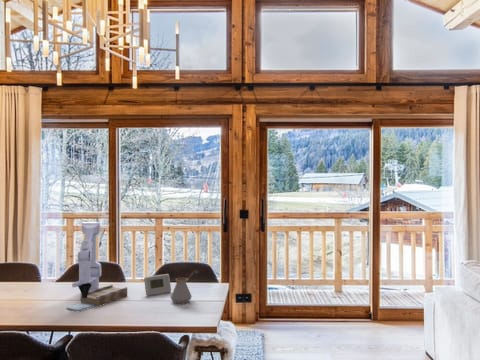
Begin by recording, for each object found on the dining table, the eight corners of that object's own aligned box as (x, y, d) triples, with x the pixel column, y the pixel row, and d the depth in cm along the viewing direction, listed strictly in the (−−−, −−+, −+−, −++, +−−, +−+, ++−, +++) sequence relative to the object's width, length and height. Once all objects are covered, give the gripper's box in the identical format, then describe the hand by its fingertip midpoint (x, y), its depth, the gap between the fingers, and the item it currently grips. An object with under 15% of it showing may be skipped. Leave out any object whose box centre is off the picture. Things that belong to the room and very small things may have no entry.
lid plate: (82, 305, 214) (82, 302, 214) (94, 307, 210) (94, 304, 210) (66, 310, 205) (66, 307, 205) (78, 312, 201) (78, 310, 201)
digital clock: (145, 296, 228) (145, 278, 228) (142, 292, 236) (142, 275, 236) (172, 293, 234) (172, 276, 234) (169, 289, 242) (169, 272, 243)
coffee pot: (183, 306, 210) (183, 278, 210) (166, 303, 215) (166, 276, 215) (204, 296, 229) (204, 270, 229) (188, 293, 234) (188, 268, 234)
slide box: (111, 293, 235) (111, 284, 235) (127, 296, 229) (127, 287, 229) (80, 303, 215) (80, 293, 215) (97, 306, 209) (97, 296, 209)
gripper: (78, 276, 201) (78, 302, 201) (100, 270, 214) (100, 295, 214) (69, 274, 205) (69, 300, 205) (91, 269, 218) (91, 293, 217)
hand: (84, 297), depth 210 cm, fingers closed
